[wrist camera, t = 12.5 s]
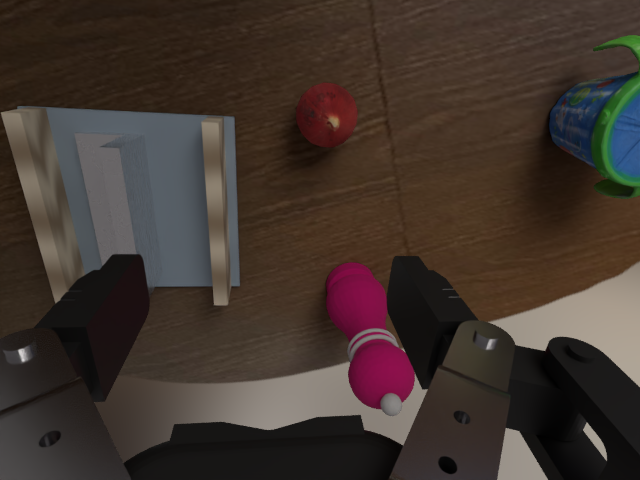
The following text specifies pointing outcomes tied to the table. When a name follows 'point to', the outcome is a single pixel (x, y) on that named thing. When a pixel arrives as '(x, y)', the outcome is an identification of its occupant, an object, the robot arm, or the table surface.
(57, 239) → the walls
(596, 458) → the robot arm
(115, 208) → the bracket
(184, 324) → the table surface
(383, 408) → the pepper mill
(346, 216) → the table surface
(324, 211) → the table surface
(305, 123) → the onion
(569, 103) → the snack cup
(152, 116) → the board
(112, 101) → the table surface
